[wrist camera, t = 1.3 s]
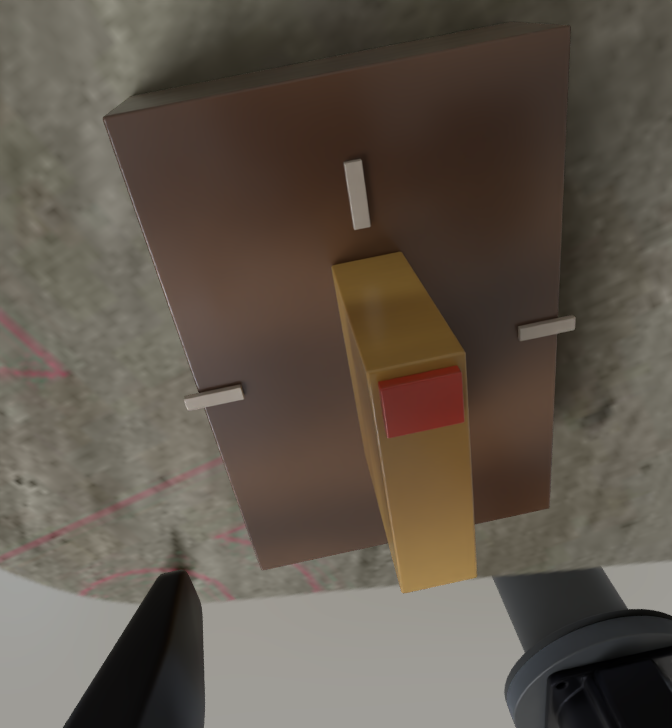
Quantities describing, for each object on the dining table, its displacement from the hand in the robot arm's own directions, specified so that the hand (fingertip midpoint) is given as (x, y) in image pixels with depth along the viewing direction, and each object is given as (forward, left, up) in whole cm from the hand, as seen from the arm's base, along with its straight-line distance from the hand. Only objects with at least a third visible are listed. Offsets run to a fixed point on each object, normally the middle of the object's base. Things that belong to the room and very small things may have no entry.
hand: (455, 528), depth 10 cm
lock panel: (0, 0, -8) cm, 9 cm away
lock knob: (0, 0, -5) cm, 5 cm away
